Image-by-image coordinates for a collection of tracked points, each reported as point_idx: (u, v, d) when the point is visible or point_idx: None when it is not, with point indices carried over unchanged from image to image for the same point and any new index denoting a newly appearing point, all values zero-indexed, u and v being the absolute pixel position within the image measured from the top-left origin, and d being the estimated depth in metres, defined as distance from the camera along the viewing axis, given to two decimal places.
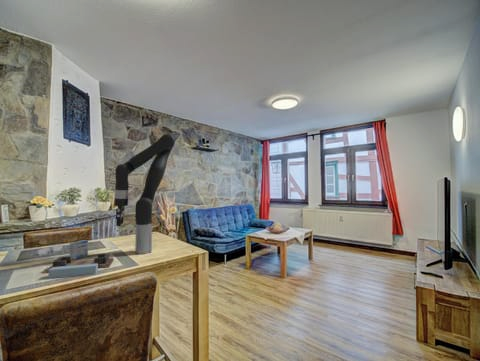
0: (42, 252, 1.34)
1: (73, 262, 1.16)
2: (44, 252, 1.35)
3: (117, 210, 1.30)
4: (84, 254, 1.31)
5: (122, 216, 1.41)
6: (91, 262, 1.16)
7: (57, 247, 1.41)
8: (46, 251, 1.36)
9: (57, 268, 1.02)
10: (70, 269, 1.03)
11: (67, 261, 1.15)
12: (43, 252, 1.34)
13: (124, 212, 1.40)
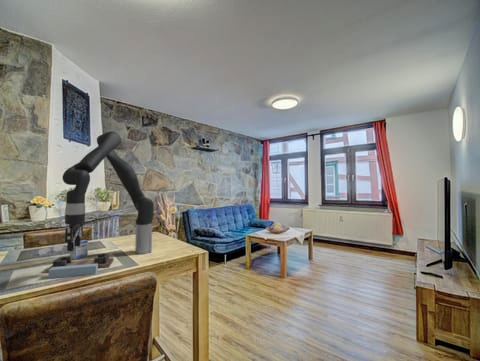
0: (43, 252, 1.34)
1: (73, 262, 1.16)
2: (45, 252, 1.35)
3: (67, 230, 0.98)
4: (84, 254, 1.31)
5: (79, 236, 1.09)
6: (91, 262, 1.16)
7: (58, 247, 1.41)
8: (47, 251, 1.36)
9: (57, 268, 1.02)
10: (70, 269, 1.03)
11: (67, 261, 1.15)
12: (44, 252, 1.34)
13: (81, 231, 1.08)
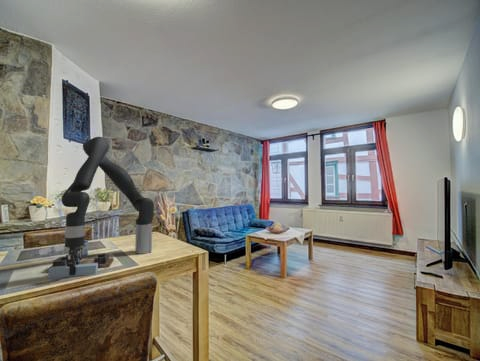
0: (43, 252, 1.34)
1: None
2: (45, 252, 1.35)
3: (67, 258, 0.98)
4: (84, 254, 1.31)
5: (77, 261, 1.06)
6: (91, 262, 1.16)
7: (59, 247, 1.41)
8: (47, 251, 1.35)
9: (57, 267, 1.02)
10: None
11: None
12: (44, 252, 1.34)
13: (80, 255, 1.07)
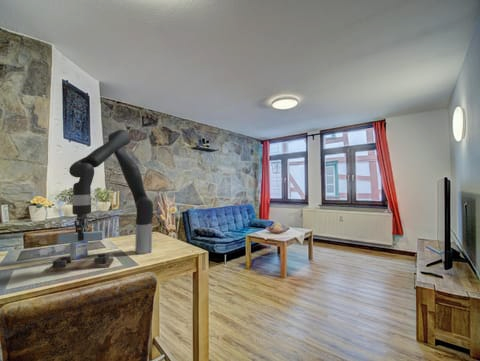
0: (44, 252, 1.34)
1: (73, 262, 1.16)
2: (46, 252, 1.35)
3: (76, 223, 1.05)
4: (84, 254, 1.31)
5: (84, 229, 1.13)
6: (91, 262, 1.16)
7: (60, 248, 1.41)
8: (48, 251, 1.35)
9: (66, 234, 1.08)
10: None
11: (67, 261, 1.15)
12: (45, 252, 1.34)
13: (87, 223, 1.14)
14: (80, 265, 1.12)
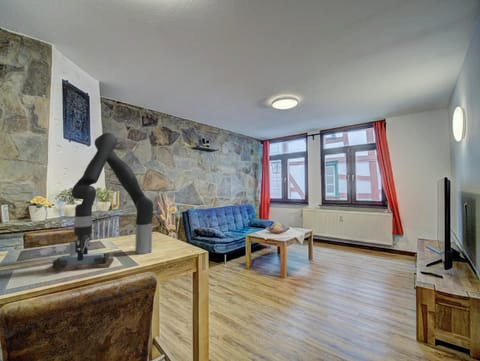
0: (44, 252, 1.34)
1: None
2: (46, 252, 1.35)
3: (76, 243, 1.09)
4: None
5: (86, 247, 1.18)
6: None
7: (61, 248, 1.40)
8: (49, 251, 1.35)
9: (67, 256, 1.13)
10: None
11: None
12: (45, 252, 1.34)
13: (88, 242, 1.18)
14: (80, 265, 1.12)
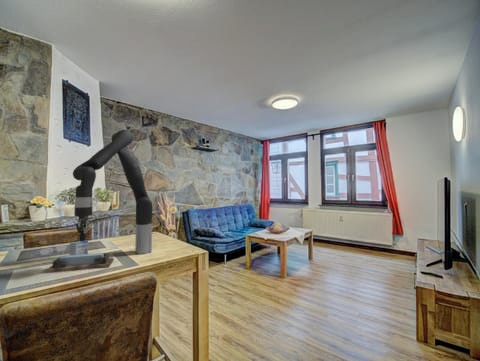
0: (45, 252, 1.34)
1: None
2: (47, 252, 1.34)
3: (77, 226, 1.10)
4: None
5: None
6: None
7: (61, 248, 1.40)
8: (49, 251, 1.35)
9: (67, 256, 1.13)
10: (79, 257, 1.13)
11: None
12: (46, 252, 1.34)
13: (88, 224, 1.17)
14: (80, 265, 1.12)
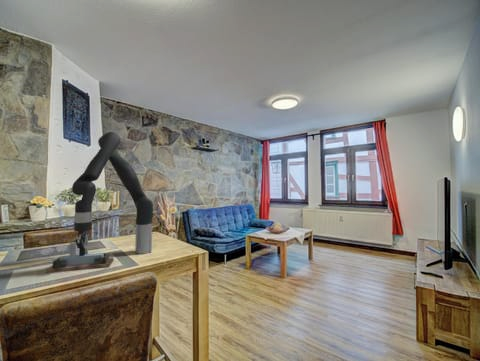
0: (45, 252, 1.34)
1: None
2: (47, 252, 1.34)
3: (77, 242, 1.10)
4: None
5: None
6: None
7: (62, 248, 1.40)
8: (49, 251, 1.35)
9: (67, 256, 1.13)
10: (79, 257, 1.13)
11: None
12: (46, 252, 1.34)
13: (87, 239, 1.17)
14: (80, 265, 1.12)
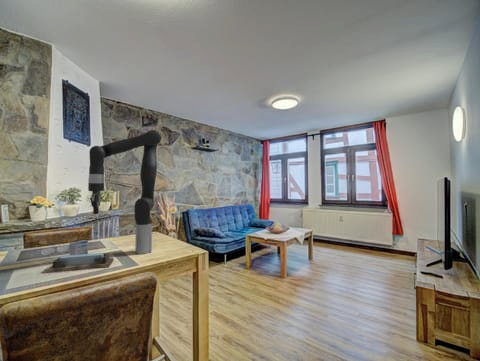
0: (46, 252, 1.33)
1: None
2: (48, 252, 1.34)
3: (91, 200, 1.20)
4: None
5: None
6: None
7: (63, 248, 1.39)
8: (50, 251, 1.35)
9: (67, 256, 1.13)
10: (79, 257, 1.13)
11: None
12: (47, 252, 1.34)
13: (100, 200, 1.28)
14: (80, 265, 1.12)
